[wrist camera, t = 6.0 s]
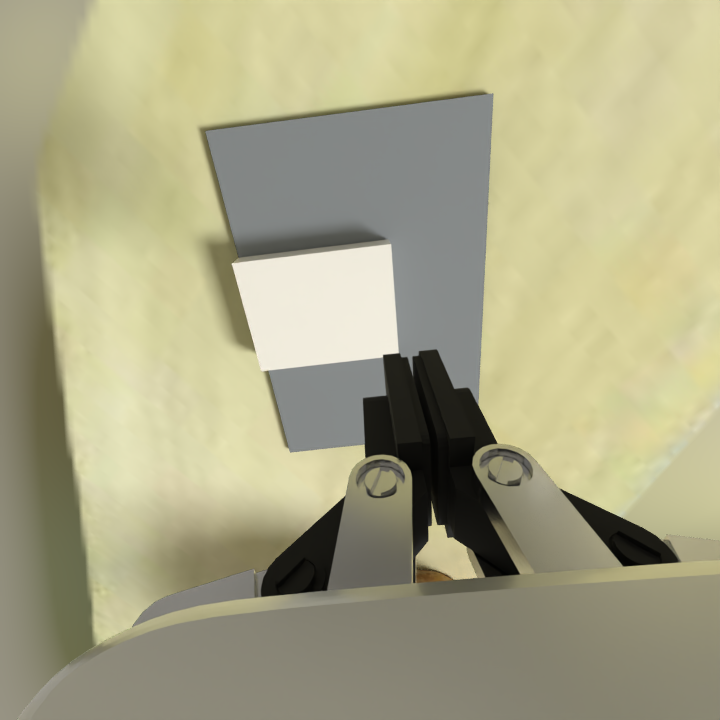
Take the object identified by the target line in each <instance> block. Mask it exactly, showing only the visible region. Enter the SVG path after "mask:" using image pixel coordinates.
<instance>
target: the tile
mask: <svg viewBox="0 0 720 720" xmlns="http://www.w3.org/2000/svg"><path fill="white" fill-rule="evenodd" d="M232 266H233V270H234V274H235V277H236V281H237V285H238V288H239V292H240V296H241V299H242V303H243V306H244V310H245V314H246V317H247V321H248V325H249V328H250V332H251V336H252V339H253V343H254V346H255V350H256V354H257V357H258V361H259V365H260V368H261V371H269V370H277V369H286V368H295V367H304V366H312V365H321V364H330V363H339V362H347V361H356V360H365V359H374V358H382V357H383V355H385V354H395V353H399V350H398V335H397V321H396V306H395V292H394V278H393V263H392V249H391V243H390V241H389V240H388V239H387V240H379V241H371V242H362V243H354V244H346V245H338V246H330V247H321V248H313V249H305V250H297V251H289V252H280V253H272V254H264V255H256V256H248V257H239V258H238V259H237V260H235V261H234V262H233V263H232Z"/></svg>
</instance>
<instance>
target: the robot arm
mask: <svg viewBox="0 0 720 720" xmlns="http://www.w3.org/2000/svg"><path fill="white" fill-rule="evenodd" d="M383 364H384V376H385V388H386V396H376V397H366V398H363V415H364V437H365V459H363V460H362V461H360V462H359V463H357V464H356V466H355V467H354V468H353V469H352V471H351V474H350V476H349V481H348V486H347V491H346V496H345V497H344V498H342V499H341V500H340V501H339V502H338V503H337V504H336V505H335V506H334V507H333V508H331V509H330V510H329V511H328V512H327V513H326V514H325V515H324V516H323V517H322V518H320V519H319V520H318V521H317V522H316V523H315V524H314V525H313V526H312V527H310V528H309V529H308V530H307V531H306V532H305V533H304V534H303V535H302V536H301V537H299V538H298V539H297V540H296V541H295V542H294V543H293V544H292V545H291V546H290V547H288V548H287V549H286V550H285V551H284V552H283V553H282V554H281V555H280V556H278V557H277V558H276V559H275V561H274V562H273V563H272V564H271V565H270V566H269V568H268V569H267V570H264V571H261V572H258V573H256V572H255V570H254V569H251V570H248V571H245V572H241V573H238V574H235V575H232V576H229V577H226V578H223V579H219V580H216V581H213V582H210V583H207V584H204V585H200V586H197V587H194V588H191V589H188V590H185V591H181V592H178V593H175V594H172V595H169V596H166V597H164V598H162V599H160V600H158V601H156V602H154V603H153V604H152V605H151V606H149V607H148V608H147V609H146V610H145V611H144V612H142V614H141V615H140V616H139V618H138V619H137V620H136V622H135V623H134V624H133V626H132V628H129V629H127V630H125V631H123V632H121V633H119V634H117V635H115V636H113V637H111V638H109V639H107V640H105V641H103V642H102V643H100V644H98V645H96V646H95V647H93V648H91V649H90V650H88V651H87V652H85V653H84V654H82V655H81V656H79V657H78V658H76V659H75V660H73V661H72V662H71V663H69V664H68V665H67V666H66V667H64V668H63V669H62V670H61V671H60V672H58V673H57V674H56V675H55V676H54V677H53V678H52V679H51V680H50V681H49V682H48V683H47V684H46V685H45V686H44V687H43V688H42V689H41V690H40V691H39V692H38V693H37V695H36V696H35V697H34V698H33V699H32V701H31V702H30V703H29V704H28V705H27V707H26V708H25V709H24V711H23V712H22V713H21V714H20V716H19V717H18V718H17V720H720V541H719V540H711V539H702V538H694V537H693V538H692V537H685V536H676V535H668V534H667V535H666V536H665V538H664V539H659V538H658V537H657V536H656V535H654V534H652V533H651V532H649V531H647V530H645V529H644V528H642V527H640V526H638V525H635V524H633V523H631V522H629V521H627V520H625V519H623V518H621V517H619V516H617V515H615V514H612V513H610V512H608V511H606V510H604V509H602V508H600V507H598V506H595V505H593V504H591V503H589V502H587V501H585V500H583V499H581V498H579V497H576V496H574V495H572V494H570V493H568V492H566V491H564V490H562V489H560V488H558V487H557V485H556V484H555V483H554V482H553V481H552V479H551V478H550V477H549V476H548V474H547V473H546V472H545V471H544V470H543V468H542V467H541V466H540V465H539V464H538V462H537V461H536V460H535V459H534V458H533V457H532V456H531V455H530V454H529V453H527V452H525V451H523V450H522V449H520V448H517V447H514V446H511V445H505V444H497V442H496V440H495V438H494V436H493V434H492V432H491V430H490V428H489V426H488V424H487V422H486V420H485V418H484V416H483V414H482V412H481V410H480V408H479V406H478V404H477V402H476V400H475V398H474V396H473V394H472V392H471V390H470V389H469V388H457V389H454V387H453V384H452V382H451V380H450V378H449V375H448V373H447V371H446V368H445V366H444V364H443V362H442V359H441V357H440V355H439V352H438V350H437V349H434V350H424V351H419V353H418V356H413V357H412V364H413V375H412V371H411V367H410V364H409V360H408V357H401V354H400V353H395V354H385V355H383ZM431 500H432V505H433V509H434V513H435V518H436V522H437V525H445V529H446V533H447V537H448V538H450V537H454V539H456V540H457V541H459V542H460V543H462V544H463V545H465V546H466V547H467V553H468V557H469V560H470V562H471V564H472V566H473V568H474V571H475V573H476V575H477V577H478V578H473V579H461V580H449V581H436V582H424V583H416V555H417V554H418V553H419V552H420V550H421V549H422V548H423V547H424V545H425V544H426V543H427V542H428V526H431V525H432V505H431Z"/></svg>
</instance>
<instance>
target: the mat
mask: <svg viewBox="0 0 720 720" xmlns="http://www.w3.org/2000/svg"><path fill="white" fill-rule="evenodd" d="M492 111H493V94H485V95H477V96H470V97H462V98H454V99H447V100H439V101H432V102H424V103H416V104H409V105H401V106H393V107H386V108H378V109H370V110H363V111H355V112H347V113H340V114H332V115H324V116H317V117H309V118H301V119H294V120H286V121H278V122H271V123H263V124H255V125H248V126H240V127H232V128H225V129H217V130H209V131H205V132H206V136H207V140H208V143H209V147H210V151H211V155H212V159H213V162H214V166H215V170H216V174H217V178H218V181H219V185H220V189H221V193H222V197H223V200H224V204H225V208H226V212H227V215H228V219H229V223H230V227H231V231H232V234H233V238H234V242H235V246H236V250H237V253H238V257H248V256H256V255H264V254H272V253H280V252H289V251H297V250H305V249H313V248H321V247H330V246H338V245H346V244H354V243H362V242H371V241H379V240H387V239H388V240H389V241H390V243H391V249H392V263H393V278H394V292H395V306H396V321H397V335H398V350H399V353H400V354H401V357H408V360H409V364H410V367H411V371H412V375H413V364H412V357H413V356H418V353H419V351H424V350H434V349H437V350H438V352H439V355H440V357H441V359H442V362H443V364H444V366H445V368H446V371H447V373H448V375H449V378H450V380H451V382H452V384H453V387H454V389H457V388H469V389H470V390H471V392H472V394H473V396H474V398H475V400H476V402H477V404H478V399H479V378H480V358H481V337H482V316H483V296H484V275H485V255H486V234H487V214H488V193H489V172H490V152H491V131H492ZM269 375H270V378H271V382H272V386H273V390H274V394H275V397H276V401H277V405H278V409H279V413H280V416H281V420H282V424H283V428H284V432H285V435H286V439H287V443H288V447H289V450H290V452H299V451H308V450H317V449H326V448H336V447H345V446H354V445H363V444H365V437H364V415H363V398H366V397H376V396H386V388H385V376H384V364H383V357H382V358H374V359H365V360H356V361H347V362H339V363H330V364H321V365H312V366H304V367H295V368H286V369H277V370H269Z"/></svg>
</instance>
